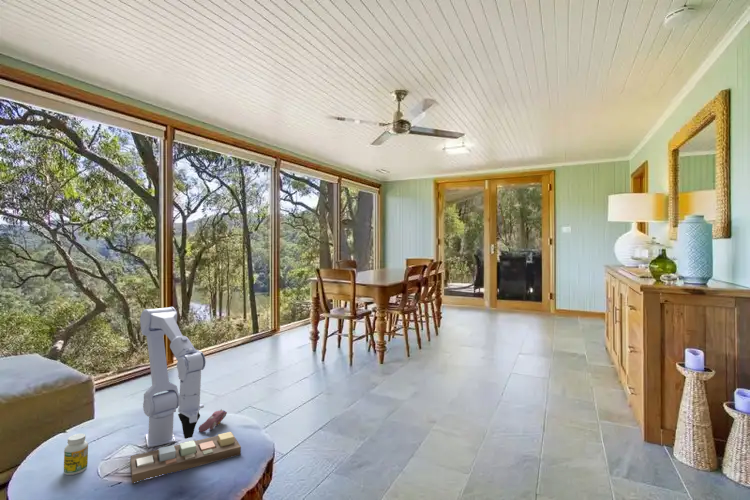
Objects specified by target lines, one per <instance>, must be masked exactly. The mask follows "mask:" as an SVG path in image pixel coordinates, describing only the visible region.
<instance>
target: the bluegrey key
mask: <svg viewBox="0 0 750 500" xmlns="http://www.w3.org/2000/svg"><path fill="white" fill-rule="evenodd" d="M174 446H175V445H174V444H172V445H168V446H163V447H159V448H158V450H159V455H158V458H159V462H162V461H166V460H170V459H174V458H175V455H176V450H175V447H174Z"/></svg>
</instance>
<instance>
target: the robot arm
mask: <svg viewBox="0 0 750 500" xmlns="http://www.w3.org/2000/svg"><path fill="white" fill-rule="evenodd" d="M139 320H140V321H139V323H140V331H141V335H143V336H145V337H146V340H147V341H146V342H147V351H148V357H149V366H150V367H149V369H150V376H151V384H152V385H150V387H149V388H148V389H147V390H146V391H145V392H144V394H143V402H142V410H143V413H144V415H145V416H147V417H148V433H146V434H144V435H145V441H146V446H147V448H149V449H150V448H153V447H154V448H155V447H159V446H162V445H167V444H171V443H175V442H176V437H175V435H174V417H175V416H174V414H175V413H176V411H177V412H178V414H177V416H178V418H179V421H180V423H181V427H182V433H183V437H184V439H185V440H186V439H190V438H193V435H194V432H195V429H196V425H197V423H198V421H199V419H200V417H201V414H200V410H201V409H203V408H205V404H204V403H201V386H202V385H201V384H202V383H201V381H202V371H203V370H204V369H205V368H206V362H207V361H206V357H205V354H204V352H203V351H200V350H198V349H196V348H195V347H194V345H193V343H192V341H191V340H190V339H189V338H188V336H185V335H183V334H182V331H181V330H180V328H179V327H180V326H179V325H178V323H177V321H178V311H177V309H176V308H175V307H174V306H169V307H159V308H145V309H143V310H142V312H141V314H140V317H139ZM164 336H166V337H167V338H168V340H169V341H170V344H169V348H170V350H171V352H172V354H173V356H174V357H175V359H176V361H177V363H176V368H177V371H178V372H177V373H178V375H177V376H178V379H179V380H180V381H179V389H178V385H176V384H174V383H172V382H170V380H169V372H168V371H169V370H168V363H167V355H166V347H165V339H164Z"/></svg>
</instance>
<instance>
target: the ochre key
mask: <svg viewBox="0 0 750 500" xmlns="http://www.w3.org/2000/svg"><path fill="white" fill-rule="evenodd" d="M233 435H234V433H233V432H232V433H231V431H228V432H223V433H219V434H217V436H218V444H219V446H220V447H221V446H225V445H229V444H233V443H234V437H235V435H234V436H233Z"/></svg>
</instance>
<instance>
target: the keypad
mask: <svg viewBox="0 0 750 500" xmlns="http://www.w3.org/2000/svg"><path fill="white" fill-rule="evenodd" d="M230 432H231V431H230ZM231 433H232V434H233V432H231ZM233 436H234V443H233V444H229V445H225V446H221V447H220V446H219V444H218V435H215V436H210V437H206V438H202V439H199V440H194V442H195V444H196V453H193V454H189V455H185V456H180V453H179V446H180V444H176V445H174V447H175V450H176V455H175V458H174V459H170V460H166V461H162V462H159V458H158V455H159V449H155V450H151V451H147V452H141V453H139V454H134V455H130V457H129V459H130V463H129V464H130V475H131V477H132V478H131V484H132V483H134V482H137V481H140V480H144V479H146V478H150V477H155V476H159V475H162V474H167V473H171V472H174V473H176V472H177V471H178V472H181V471H180V470H182V471H186V470H189V469H192V468H197V467H200V466H203V465H207V464H211V463H214V462H218V461H221V460H226V459H229V458H233V457H236V456H240V455H241V454H242V446H241V444H240V443H239V442H238V440H237V438H236V437H235V435H234V434H233ZM209 441H213V442H214V444H215V448H213V449H209V450H205V451H200V449H199V444H201V443H205V442H209ZM151 455H152V456H153V460H154V464H150V465H146V466H142V467H138V468H136V460H137V459H138V458H142V457H147V456H151ZM188 468H189V469H188ZM171 474H172V473H171ZM167 475H168V474H167ZM159 477H160V476H159ZM137 483H138V482H137ZM134 484H135V483H134Z"/></svg>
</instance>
